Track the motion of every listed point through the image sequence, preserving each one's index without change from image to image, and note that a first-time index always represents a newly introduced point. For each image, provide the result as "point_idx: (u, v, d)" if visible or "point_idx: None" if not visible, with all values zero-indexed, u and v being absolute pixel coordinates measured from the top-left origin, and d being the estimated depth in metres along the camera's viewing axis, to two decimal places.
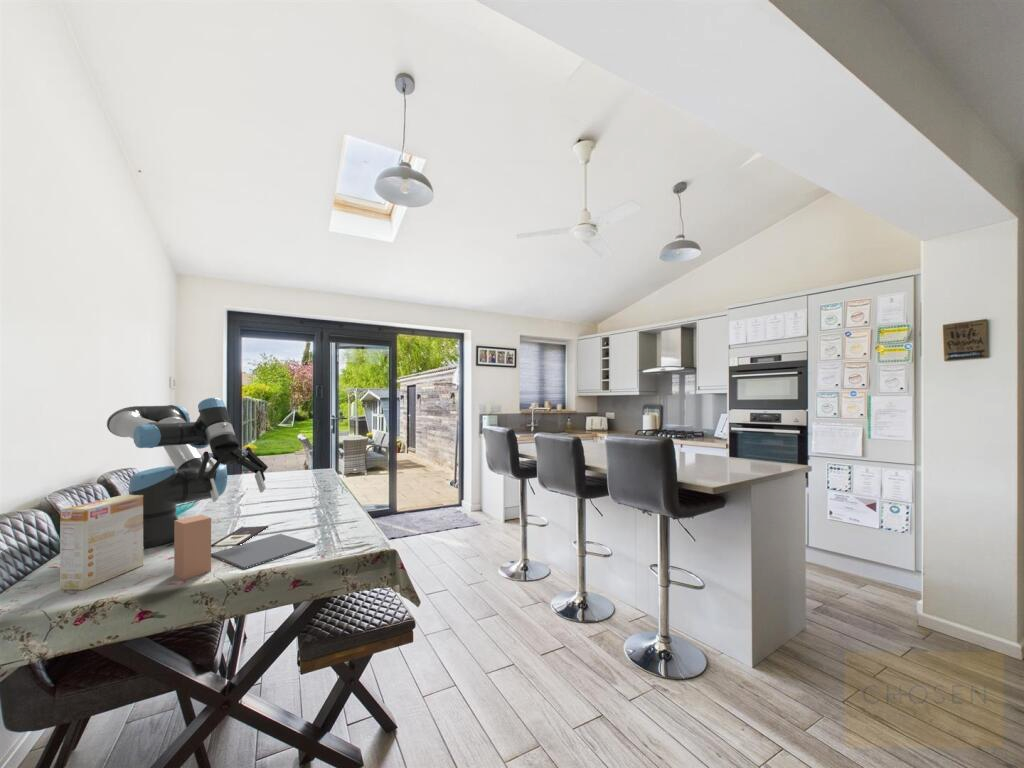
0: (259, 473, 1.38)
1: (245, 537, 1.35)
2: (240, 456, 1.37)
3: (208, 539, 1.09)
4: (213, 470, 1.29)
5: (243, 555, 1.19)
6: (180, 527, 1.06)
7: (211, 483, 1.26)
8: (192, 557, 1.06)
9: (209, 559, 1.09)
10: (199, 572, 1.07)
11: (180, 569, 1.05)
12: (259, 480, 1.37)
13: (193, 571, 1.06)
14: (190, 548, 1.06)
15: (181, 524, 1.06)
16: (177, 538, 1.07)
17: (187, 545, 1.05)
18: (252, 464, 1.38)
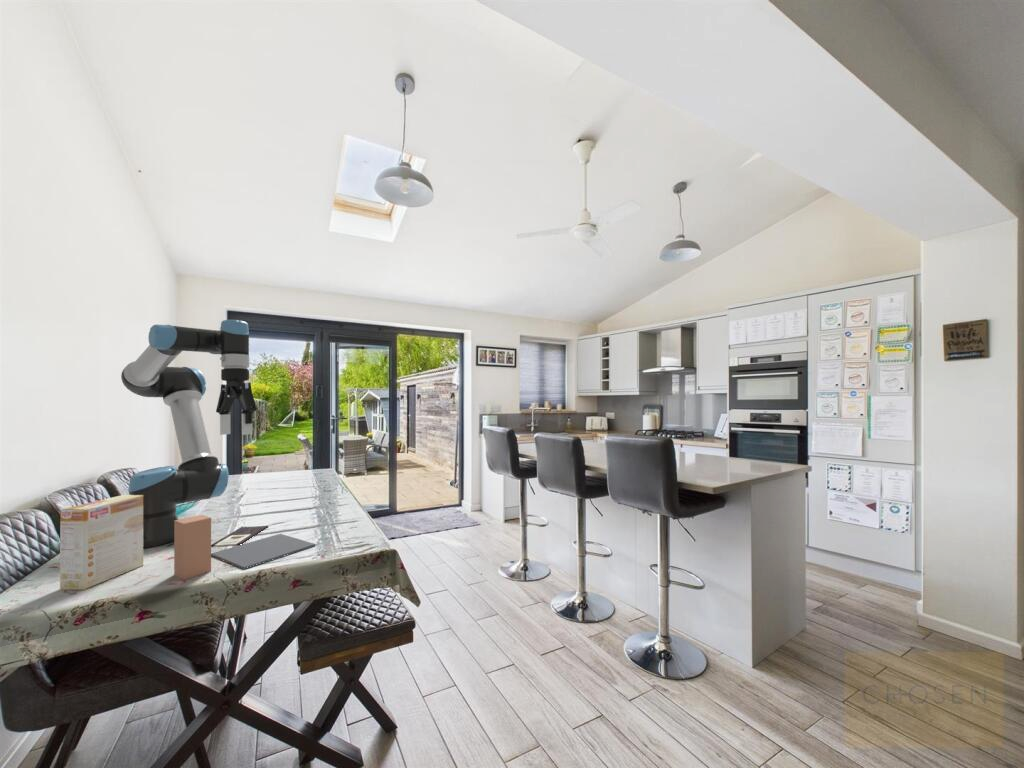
0: (242, 416, 1.28)
1: (245, 537, 1.35)
2: (234, 394, 1.30)
3: (208, 539, 1.09)
4: (222, 406, 1.35)
5: (243, 555, 1.19)
6: (180, 527, 1.06)
7: None
8: (192, 557, 1.06)
9: (209, 559, 1.09)
10: (199, 572, 1.07)
11: (180, 569, 1.05)
12: None
13: (193, 571, 1.06)
14: (190, 548, 1.06)
15: (181, 524, 1.06)
16: (177, 538, 1.07)
17: (187, 545, 1.05)
18: (240, 404, 1.29)
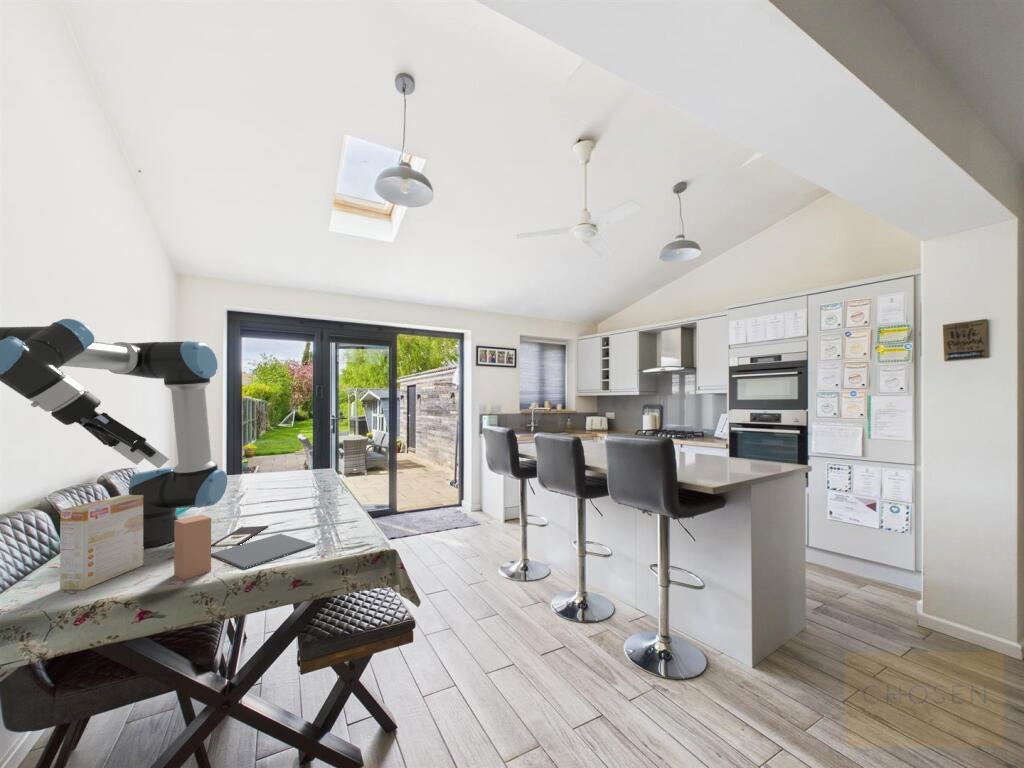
0: (137, 452, 0.95)
1: (245, 537, 1.35)
2: (100, 432, 0.93)
3: (208, 539, 1.09)
4: (104, 440, 0.99)
5: (243, 555, 1.19)
6: (180, 527, 1.06)
7: None
8: (192, 557, 1.06)
9: (209, 559, 1.09)
10: (199, 572, 1.07)
11: (181, 569, 1.06)
12: None
13: (193, 571, 1.06)
14: (190, 548, 1.06)
15: (181, 524, 1.06)
16: (177, 538, 1.07)
17: (187, 545, 1.05)
18: (120, 441, 0.93)
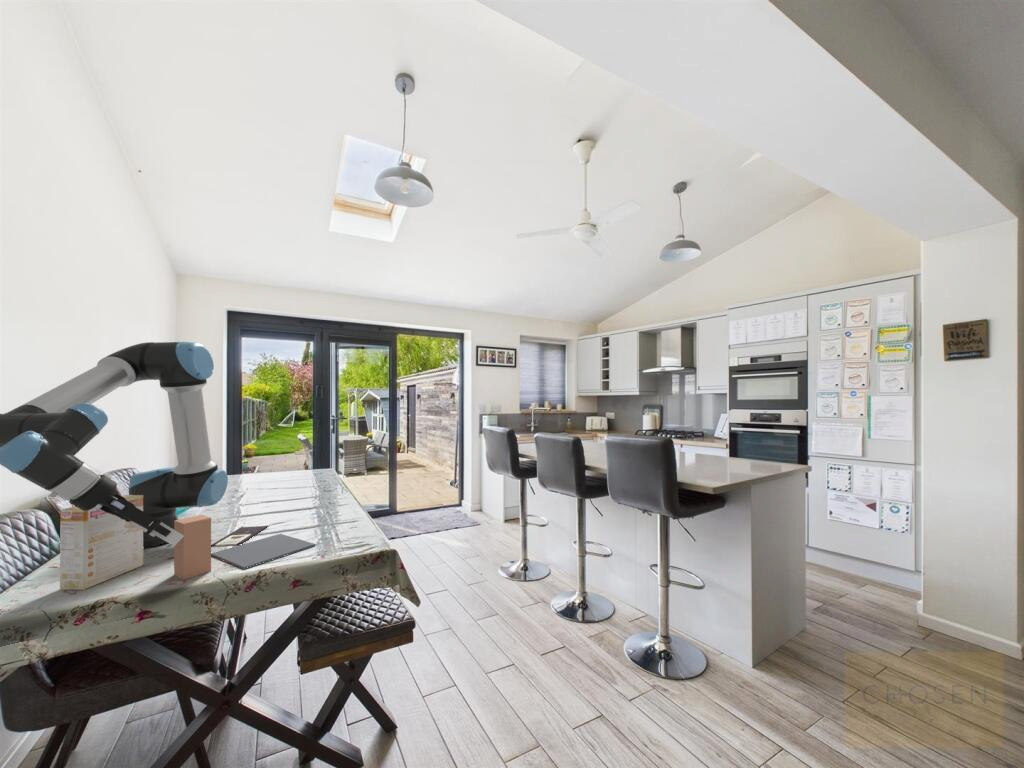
0: (152, 533, 0.96)
1: (245, 537, 1.35)
2: None
3: (208, 539, 1.09)
4: None
5: (243, 555, 1.19)
6: (180, 527, 1.06)
7: None
8: (192, 557, 1.06)
9: (209, 559, 1.09)
10: (199, 572, 1.07)
11: (180, 569, 1.05)
12: None
13: (193, 571, 1.06)
14: (190, 548, 1.06)
15: (181, 524, 1.06)
16: None
17: (187, 545, 1.05)
18: (136, 523, 0.95)
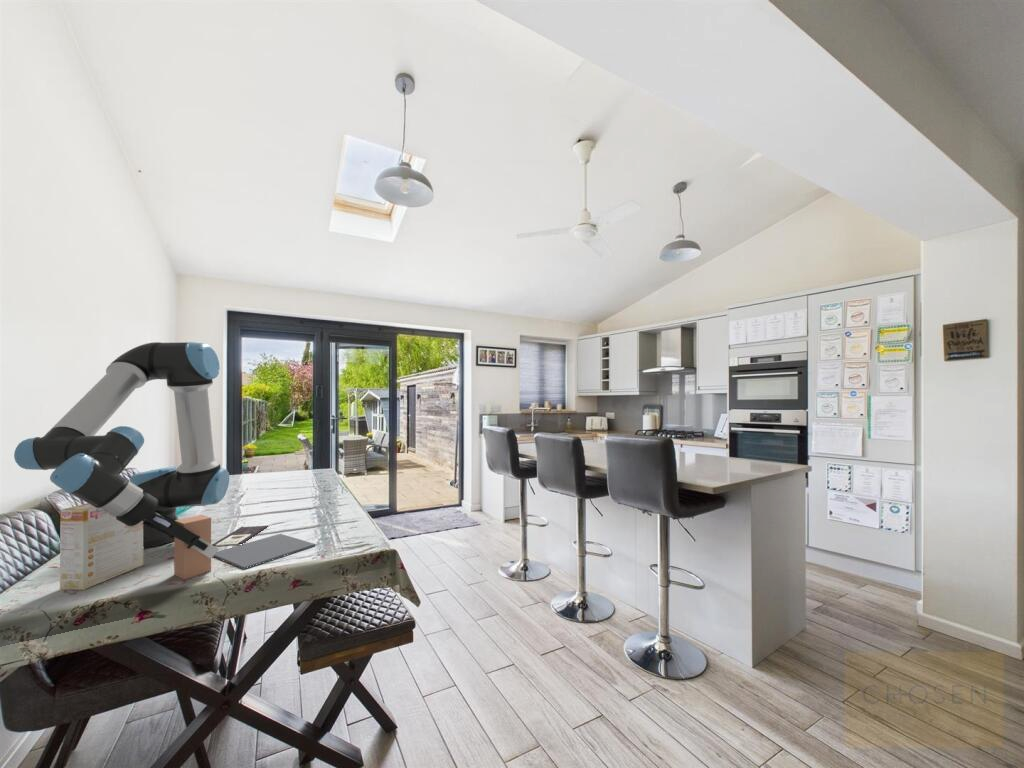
0: (192, 547, 1.06)
1: (246, 537, 1.35)
2: (159, 530, 1.02)
3: (208, 539, 1.09)
4: (168, 535, 1.07)
5: (243, 555, 1.19)
6: None
7: None
8: (192, 557, 1.06)
9: (209, 559, 1.09)
10: (199, 572, 1.07)
11: (180, 569, 1.06)
12: None
13: (193, 571, 1.06)
14: (190, 548, 1.06)
15: (181, 523, 1.06)
16: None
17: (187, 545, 1.05)
18: (177, 538, 1.04)
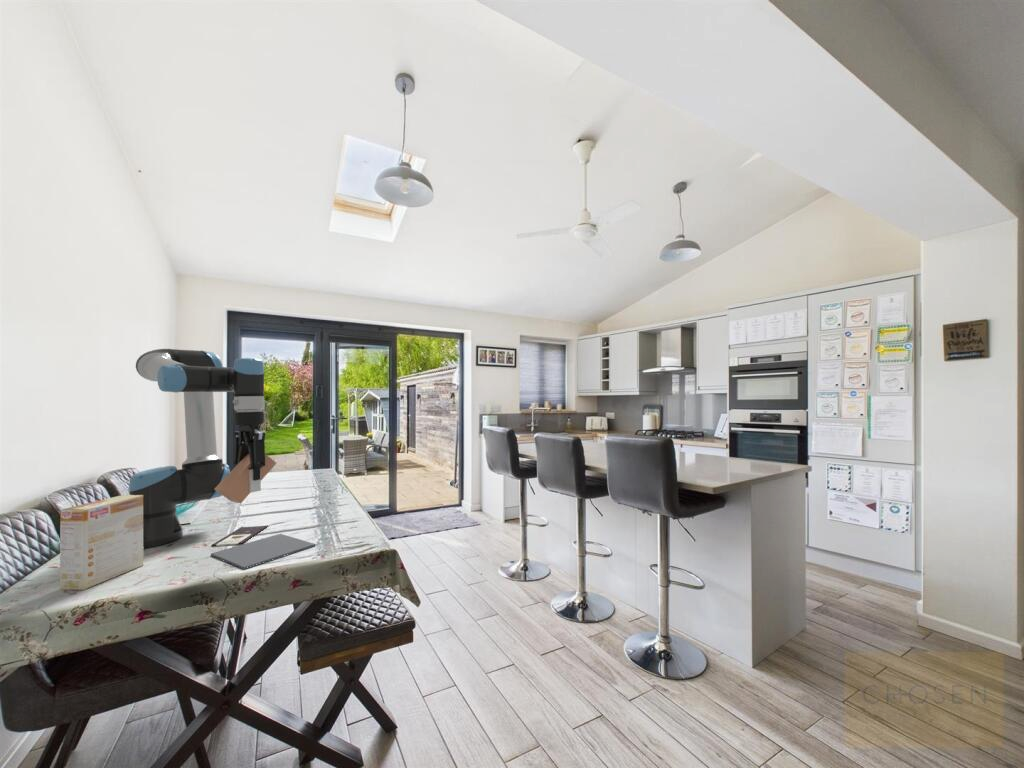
0: (249, 472, 1.18)
1: (246, 536, 1.35)
2: (246, 442, 1.19)
3: (261, 477, 1.21)
4: (239, 456, 1.22)
5: (243, 555, 1.19)
6: None
7: None
8: (243, 480, 1.17)
9: (248, 493, 1.18)
10: (235, 496, 1.15)
11: (227, 483, 1.15)
12: None
13: (233, 491, 1.15)
14: (248, 472, 1.18)
15: None
16: (243, 461, 1.21)
17: (249, 467, 1.18)
18: (250, 456, 1.18)
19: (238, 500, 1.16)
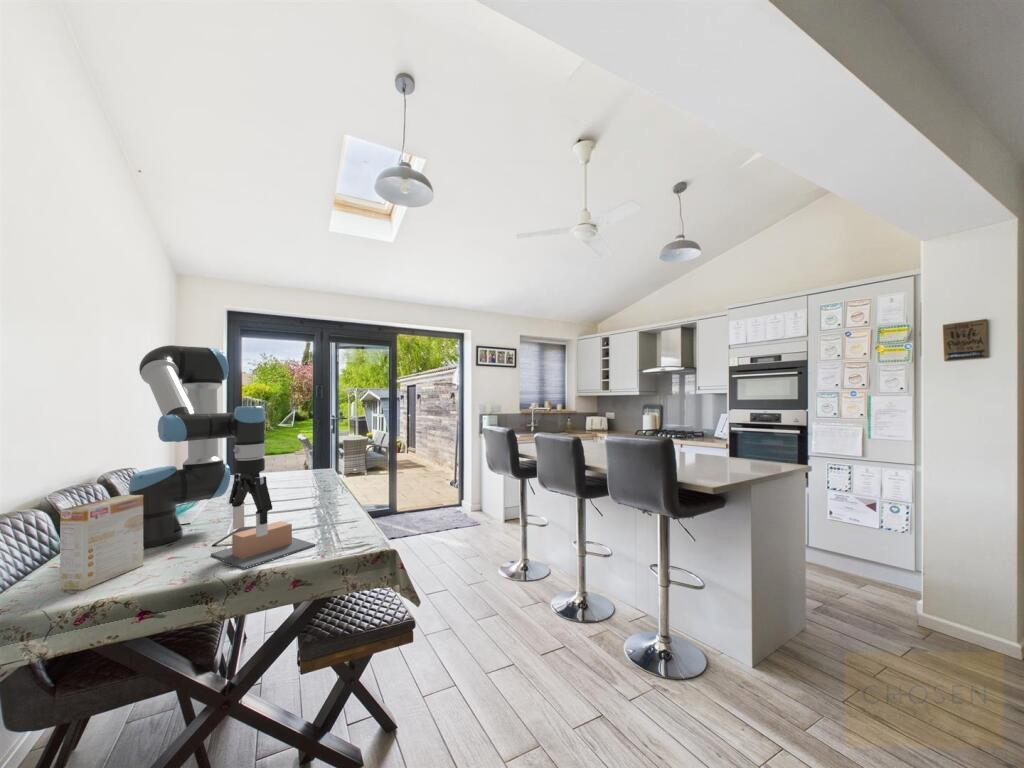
0: (256, 516, 1.16)
1: None
2: (248, 489, 1.18)
3: (273, 547, 1.23)
4: (235, 498, 1.23)
5: None
6: (283, 523, 1.28)
7: None
8: (261, 538, 1.20)
9: (254, 553, 1.19)
10: (244, 548, 1.17)
11: (248, 534, 1.19)
12: None
13: (247, 543, 1.17)
14: (269, 534, 1.22)
15: (288, 523, 1.29)
16: (270, 525, 1.26)
17: (273, 531, 1.23)
18: (255, 502, 1.17)
19: (243, 554, 1.16)
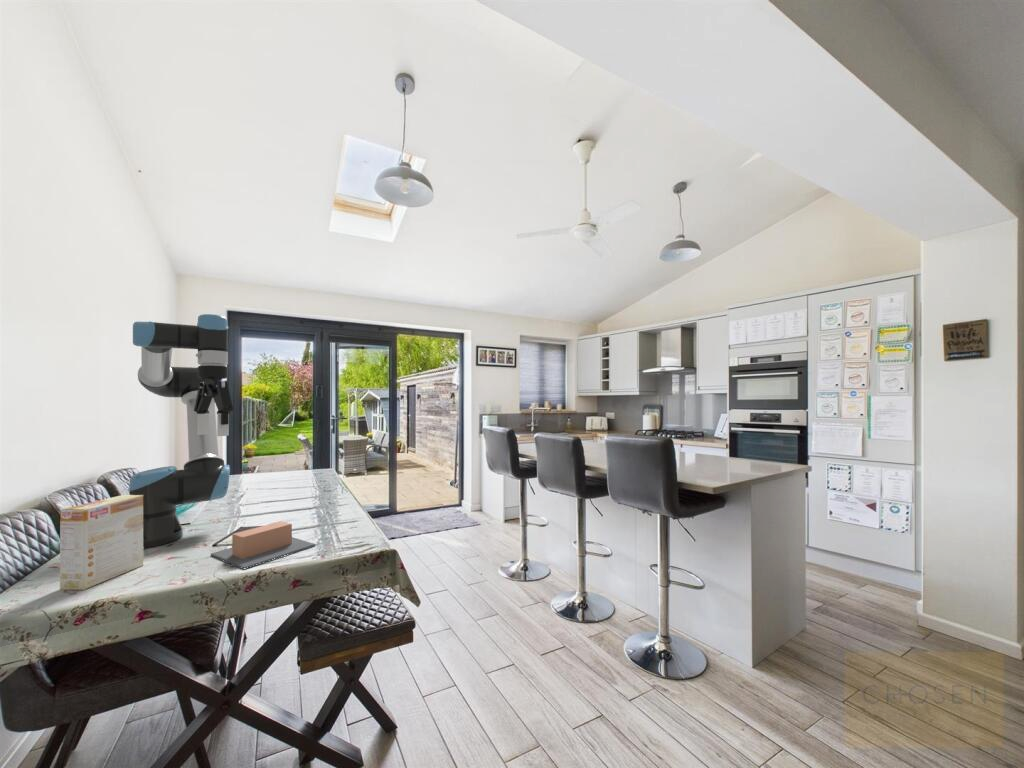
0: (217, 416, 1.21)
1: None
2: (210, 392, 1.23)
3: (273, 547, 1.23)
4: (200, 404, 1.28)
5: None
6: (283, 523, 1.28)
7: None
8: (261, 538, 1.20)
9: (254, 553, 1.19)
10: (244, 548, 1.17)
11: (248, 534, 1.19)
12: None
13: (247, 543, 1.17)
14: (269, 534, 1.22)
15: (288, 523, 1.29)
16: (270, 525, 1.26)
17: (273, 531, 1.23)
18: (216, 403, 1.22)
19: (243, 554, 1.16)
